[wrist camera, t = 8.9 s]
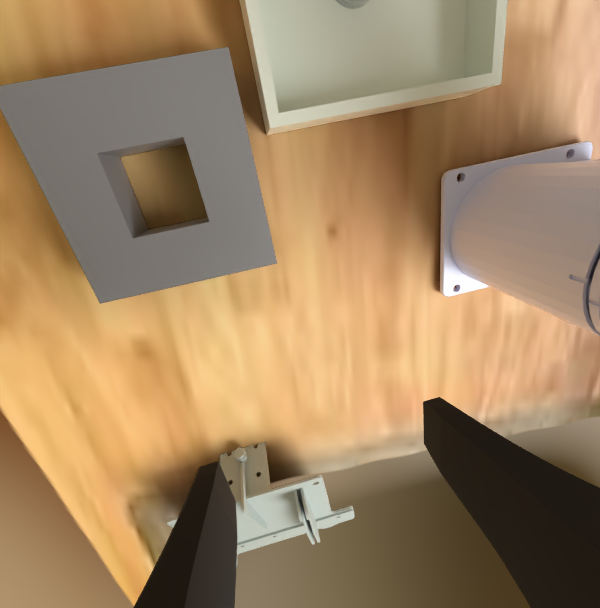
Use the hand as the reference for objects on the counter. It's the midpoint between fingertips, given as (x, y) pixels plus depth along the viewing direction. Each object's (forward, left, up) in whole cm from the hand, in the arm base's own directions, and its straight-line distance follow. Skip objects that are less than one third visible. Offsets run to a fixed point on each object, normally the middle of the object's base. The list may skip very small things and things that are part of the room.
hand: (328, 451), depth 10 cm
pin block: (+5, -9, -10) cm, 15 cm away
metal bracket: (+6, +16, -11) cm, 21 cm away
